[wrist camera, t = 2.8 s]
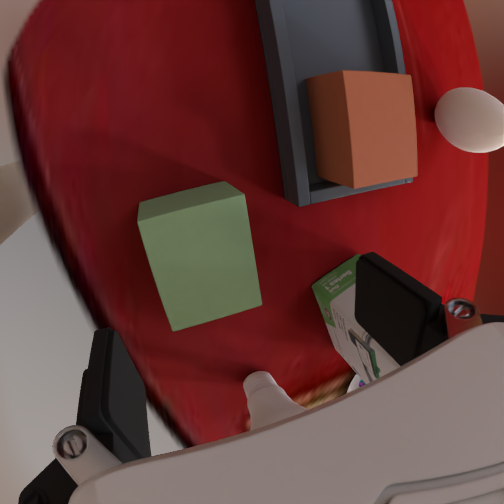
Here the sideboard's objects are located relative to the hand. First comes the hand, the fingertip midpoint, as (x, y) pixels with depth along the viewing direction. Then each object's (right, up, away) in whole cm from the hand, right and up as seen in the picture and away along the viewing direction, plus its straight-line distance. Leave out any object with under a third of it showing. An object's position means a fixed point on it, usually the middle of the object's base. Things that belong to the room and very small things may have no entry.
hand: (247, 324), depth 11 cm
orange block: (+6, +11, +8) cm, 15 cm away
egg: (+16, +14, +11) cm, 24 cm away
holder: (+5, +15, +6) cm, 17 cm away
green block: (-3, +3, +8) cm, 9 cm away
